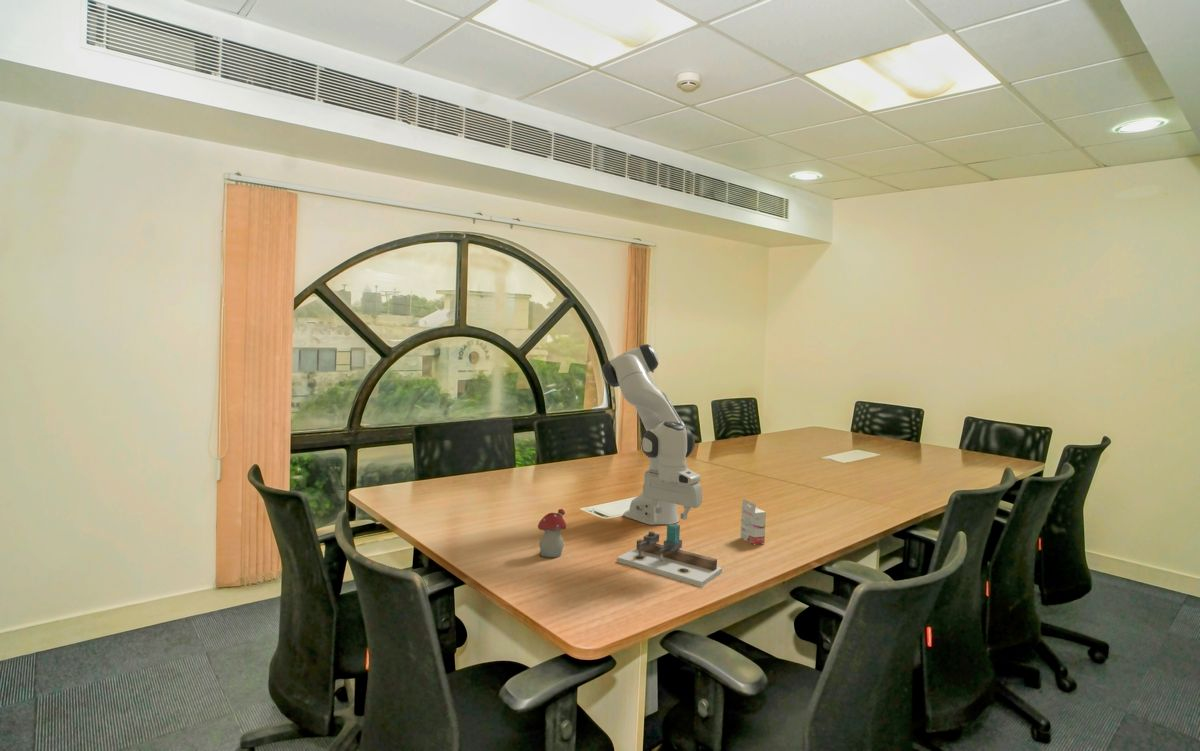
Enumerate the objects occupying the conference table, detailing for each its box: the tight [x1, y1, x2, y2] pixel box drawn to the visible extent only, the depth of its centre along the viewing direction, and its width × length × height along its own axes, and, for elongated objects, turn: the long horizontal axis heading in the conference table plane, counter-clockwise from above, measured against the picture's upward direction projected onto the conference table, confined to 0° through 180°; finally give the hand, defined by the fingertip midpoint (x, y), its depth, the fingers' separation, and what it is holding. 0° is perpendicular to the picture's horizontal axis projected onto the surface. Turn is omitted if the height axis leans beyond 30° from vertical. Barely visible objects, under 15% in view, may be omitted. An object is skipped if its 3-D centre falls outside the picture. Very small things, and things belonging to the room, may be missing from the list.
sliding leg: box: [659, 523, 683, 561], centre depth 189 cm, size 4×10×10 cm, turn 144°
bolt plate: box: [616, 547, 723, 588], centre depth 187 cm, size 30×14×2 cm, turn 54°
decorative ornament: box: [537, 508, 567, 559], centre depth 194 cm, size 9×7×15 cm
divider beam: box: [635, 530, 718, 571], centre depth 188 cm, size 28×10×7 cm, turn 54°
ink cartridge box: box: [740, 498, 767, 545], centre depth 214 cm, size 9×5×15 cm, turn 21°
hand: (670, 515), depth 190 cm, fingers open, 8 cm apart
